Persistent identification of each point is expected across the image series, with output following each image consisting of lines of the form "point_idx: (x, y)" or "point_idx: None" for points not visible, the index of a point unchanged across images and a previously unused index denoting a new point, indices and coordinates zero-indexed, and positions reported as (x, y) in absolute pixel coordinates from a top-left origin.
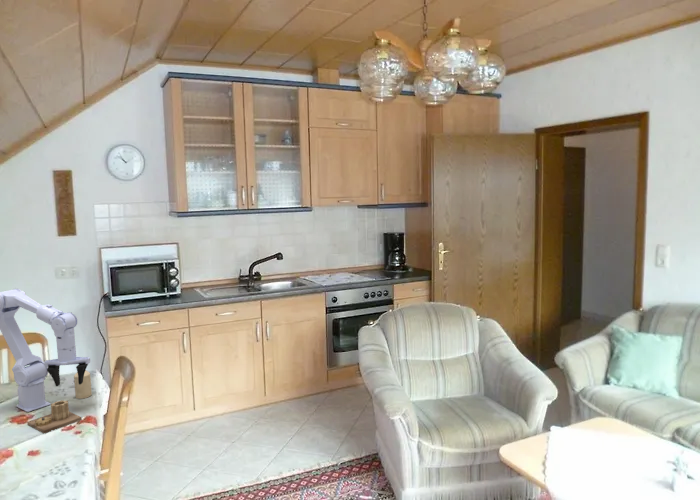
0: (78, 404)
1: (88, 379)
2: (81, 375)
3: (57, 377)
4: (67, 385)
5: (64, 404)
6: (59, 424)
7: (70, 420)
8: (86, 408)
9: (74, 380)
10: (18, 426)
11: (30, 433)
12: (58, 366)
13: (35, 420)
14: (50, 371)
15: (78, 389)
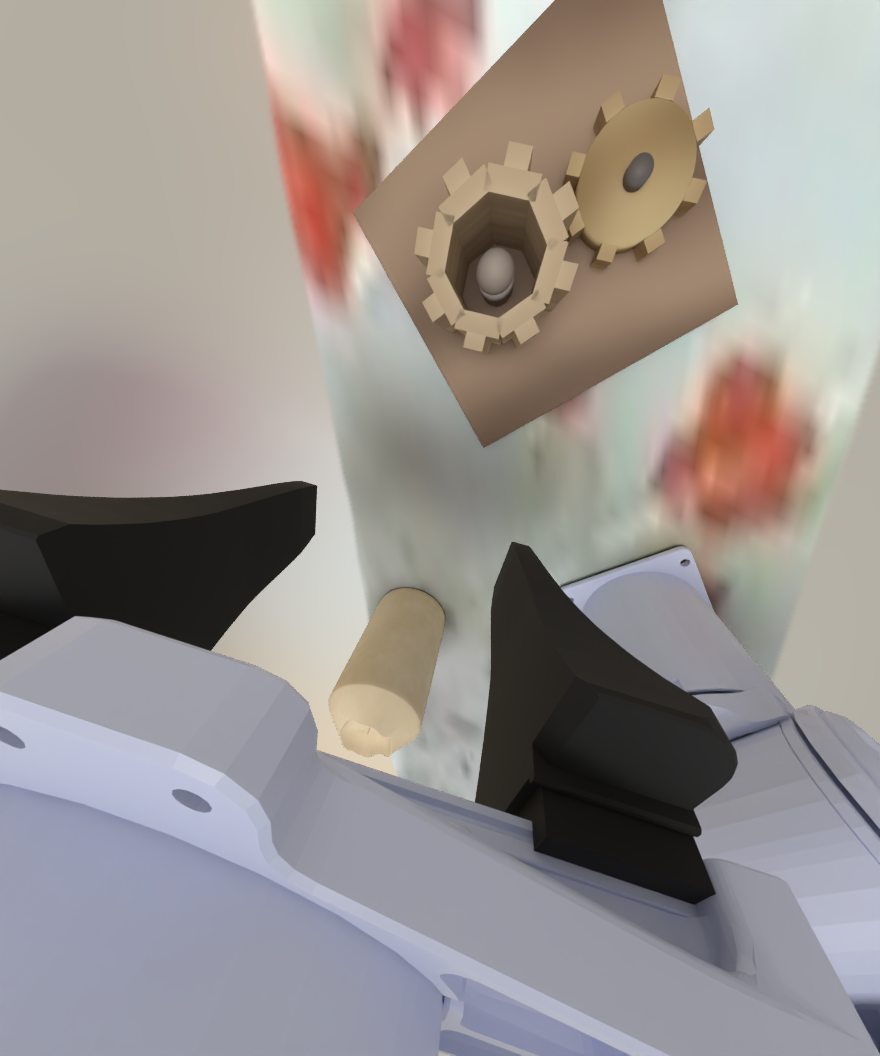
0: (421, 523)
1: (346, 666)
2: (201, 497)
3: (510, 621)
4: None
5: (443, 203)
6: (499, 80)
7: (421, 160)
8: (370, 440)
9: (423, 689)
10: (791, 305)
11: (743, 34)
12: (486, 800)
13: (675, 307)
14: (636, 677)
15: (415, 627)
